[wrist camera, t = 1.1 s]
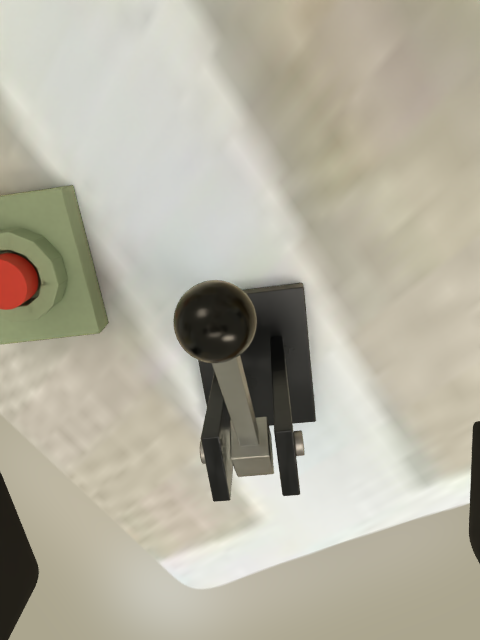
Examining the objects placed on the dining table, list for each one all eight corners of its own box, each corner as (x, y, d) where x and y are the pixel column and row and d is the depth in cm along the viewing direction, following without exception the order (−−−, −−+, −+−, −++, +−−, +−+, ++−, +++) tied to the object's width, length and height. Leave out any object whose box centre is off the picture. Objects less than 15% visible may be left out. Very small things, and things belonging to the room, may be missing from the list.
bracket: (189, 295, 36) (150, 380, 24) (302, 282, 36) (326, 362, 23) (212, 423, 41) (190, 553, 28) (314, 413, 40) (339, 543, 27)
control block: (-42, 201, 34) (-78, 208, 31) (73, 185, 34) (49, 190, 30) (5, 334, 38) (-23, 355, 35) (108, 323, 38) (92, 342, 34)
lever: (166, 268, 18) (160, 334, 16) (249, 257, 17) (253, 324, 15) (228, 434, 29) (229, 484, 27) (278, 429, 29) (283, 480, 27)
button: (-19, 256, 32) (-34, 262, 30) (30, 249, 32) (17, 255, 30) (-2, 304, 33) (-16, 312, 32) (44, 298, 33) (33, 306, 31)
